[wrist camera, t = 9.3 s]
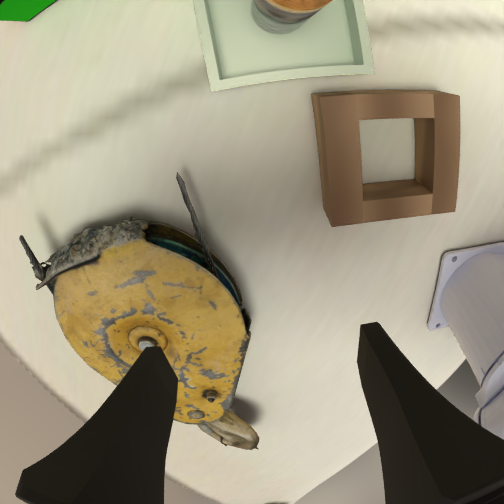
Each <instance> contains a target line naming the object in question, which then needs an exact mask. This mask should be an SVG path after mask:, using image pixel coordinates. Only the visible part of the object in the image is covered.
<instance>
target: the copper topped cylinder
mask: <svg viewBox="0 0 504 504" xmlns="http://www.w3.org/2000/svg"><path fill="white" fill-rule="evenodd" d="M331 1H332V0H252V4H251V14H252V17H253V19H254V21H255V23H256V24H257V25H258V26H259V27H260V28H262V29H263V30H265V31H267V32H270V33H273V34H287V33H290V32H293V31H295V30H296V29H298V28H299V27H300V26H301V25H302V24H304V23H305V22H306V21H307V20H308V19H310V18H311V17H312V16H313V15H315V14H316V13H317V12H318V11H320V10H321V9H322V8H323V7H325V6H326V5H327V4H329V3H330V2H331Z"/></svg>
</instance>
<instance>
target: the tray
mask: <svg viewBox="0 0 504 504" xmlns="http://www.w3.org/2000/svg"><path fill="white" fill-rule="evenodd" d="M193 3H194V8H195V13H196V18H197V23H198V28H199V33H200V38H201V43H202V48H203V53H204V58H205V63H206V68H207V73H208V78H209V83H210V88H211V92H213V91H218V90H223V89H229V88H234V87H240V86H246V85H252V84H259V83H265V82H273V81H281V80H289V79H298V78H309V77H321V76H336V75H358V74H374V66H373V58H372V51H371V44H370V38H369V32H368V26H367V20H366V15H365V10H364V5H363V0H332V1H331V2H330V3H329V4H327V5H326V6H325V7H323V8H322V9H321V10H320V11H318V12H317V13H316V14H315V15H313V16H312V17H311V18H310V19H308V20H307V21H306V22H305V23H304V24H302V25H301V26H300V27H299V28H298V29H296V30H295V31H293V32H290V33H287V34H273V33H270V32H267V31H265V30H263V29H262V28H260V27H259V26H258V25H257V24H256V23H255V21H254V19H253V17H252V14H251V4H252V0H193Z"/></svg>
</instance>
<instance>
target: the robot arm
mask: <svg viewBox="0 0 504 504" xmlns="http://www.w3.org/2000/svg"><path fill="white" fill-rule="evenodd" d="M454 256H455V257H454ZM453 257H454V258H453ZM452 258H453V259H452ZM447 326H449V327H450V328H451V330H452V332H453V334H454V336H455V337H456V339H457V341H458V343H459V345H460V347H461V349H462V351H463V352H464V354H465V356H466V358H467V360H468V362H469V364H470V366H471V368H472V370H473V372H474V374H475V376H476V378H477V381H478V382H479V385H480V387H481V389H480V391H479V392H478V393H477V394H476V395H475V397H476V399H477V402H478V404H479V408H478V409H477V410H476V412H475V414H474V418H473V420H472V419H471V418H469V417H468V416H467V415H465V414H464V413H462V412H461V411H460V410H459V409H457V408H456V407H455V406H454V405H453V404H451V403H450V402H449V401H448V400H447V399H446V398H444V397H443V396H442V395H441V394H440V393H439V392H438V391H437V390H436V389H435V388H434V387H433V386H432V385H431V384H430V383H429V382H428V381H427V380H426V379H425V378H424V377H423V376H422V375H421V374H420V373H419V372H418V371H417V369H416V368H415V367H414V366H413V365H412V364H411V363H410V361H409V360H408V359H407V358H406V357H405V356H404V354H403V353H402V352H401V351H400V350H399V348H398V347H397V346H396V345H395V343H394V342H393V341H392V340H391V338H390V337H389V336H388V334H387V333H386V332H385V330H384V329H383V328H382V326H381V325H380V324H379V323H378V322H374V323H368V324H362V325H361V326H360V337H359V348H358V357H357V363H358V369H359V374H360V379H361V385H362V388H363V392H364V395H365V398H366V402H367V405H368V408H369V412H370V415H371V418H372V422H373V425H374V429H375V432H376V436H377V440H378V444H379V450H380V457H381V463H382V471H383V479H384V489H385V501H386V504H504V242H500V243H495V244H489V245H484V246H478V247H473V248H467V249H461V250H456V251H450V252H446V253H445V254H444V255H443V257H442V261H441V267H440V272H439V277H438V282H437V287H436V291H435V296H434V300H433V304H432V308H431V313H430V317H429V320H428V324H427V327H428V329H429V330H435V329H439V328H443V327H447ZM177 391H178V377H177V376H176V374H175V372H174V370H173V368H172V367H171V365H170V363H169V361H168V359H167V357H166V356H165V354H164V352H163V350H162V348H161V346H152V347H146V348H145V349H144V350H143V352H142V353H141V354H140V356H139V357H138V358H137V360H136V361H135V362H134V364H133V365H132V367H131V368H130V369H129V371H128V372H127V373H126V375H125V376H124V378H123V379H122V380H121V382H120V383H119V384H118V386H117V387H116V388H115V390H114V391H113V392H112V393H111V395H110V396H109V397H108V398H107V400H106V401H105V402H104V403H103V404H102V406H101V407H100V408H99V409H98V411H97V412H96V413H95V414H94V415H93V416H92V417H91V418H90V419H89V420H88V421H87V422H86V423H85V424H84V425H83V427H81V428H80V429H79V430H78V431H77V432H76V433H75V434H74V435H73V436H71V437H70V438H69V439H68V440H67V441H66V442H65V443H64V444H62V445H61V446H60V447H59V448H57V449H56V450H54V451H53V452H52V453H50V454H49V455H48V456H46V457H45V458H43V459H41V460H40V461H38V462H37V463H35V464H33V465H31V466H30V467H28V468H26V469H24V470H23V471H22V474H21V477H20V480H19V484H18V487H17V490H16V493H15V495H16V497H17V498H19V499H21V500H22V501H24V502H26V503H28V504H164V475H165V460H166V453H167V447H168V442H169V437H170V432H171V428H172V423H173V418H174V413H175V408H176V403H177Z"/></svg>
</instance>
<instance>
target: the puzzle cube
mask: <svg viewBox="0 0 504 504" xmlns="http://www.w3.org/2000/svg"><path fill="white" fill-rule="evenodd" d="M55 1H56V0H0V20H4V21H26V22H27V21H29V20H30V19H31V18H33V17H34V16H35V15H37V14H38V13H39V12H41V11H42V10H43V9H45V8H46V7H48V6H49V5H50V4H52V3H53V2H55Z"/></svg>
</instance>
